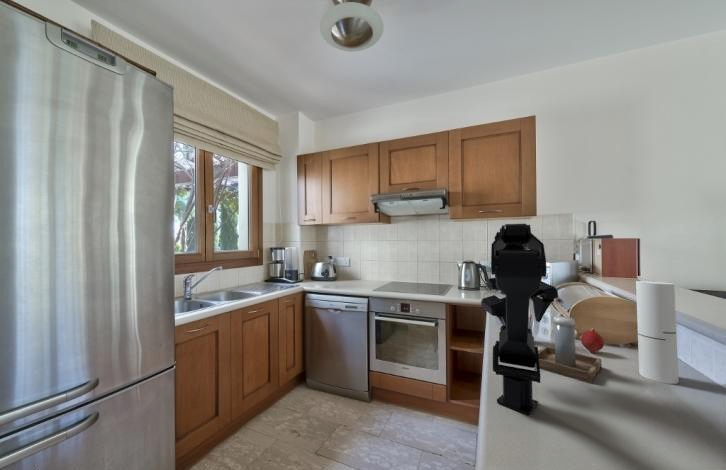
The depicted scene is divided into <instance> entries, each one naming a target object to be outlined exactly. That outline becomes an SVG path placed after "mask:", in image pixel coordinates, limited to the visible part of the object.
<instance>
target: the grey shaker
mask: <svg viewBox="0 0 726 470" xmlns="http://www.w3.org/2000/svg"><path fill="white" fill-rule="evenodd" d="M553 327H554V328H553V330H554V331H553V333H554V336H553V337H554V348H555V363H558V364H561V365H565V366H569V367H573V368H574V367H576V353H577V352H576V331H575V327H576V319H575V318H573V317H568V316H562V315H559V316H557V315H556V316H553Z"/></svg>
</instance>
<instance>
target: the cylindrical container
mask: <svg viewBox="0 0 726 470" xmlns="http://www.w3.org/2000/svg"><path fill="white" fill-rule="evenodd" d="M635 289H636V290H635V293H636V319H637V344H638V345H637V347H638V350H637V351H638V370H639V372H638V374H639V375H641V377H644V378H645V379H647V380H652V381H654V382H657V383H658V382H659V383H662V384H668V385H671V384H672V385H677V384H679V366H678V365H679V364H678V360H679V359H678V341H677V340H678V338H677V337H678V336H677V320H676V319H677V317H676V316H677V315H676V295H675V294H676V291H675V283H672V282H667V281H666V282H664V281H654V280H653V281H651V280H636V281H635Z"/></svg>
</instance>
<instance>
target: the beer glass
mask: <svg viewBox="0 0 726 470" xmlns="http://www.w3.org/2000/svg"><path fill="white" fill-rule="evenodd" d="M534 321H535V314H534V306H533V301H532V299H529V319H528V329H531V331H532V332H533V326H534Z"/></svg>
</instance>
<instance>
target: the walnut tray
mask: <svg viewBox="0 0 726 470" xmlns="http://www.w3.org/2000/svg"><path fill="white" fill-rule="evenodd" d="M575 353H576V367H574V368H573V367H569V366H565V365H561V364H558V363H555V347H551V346H547V345H544V346H543V347H541V348H540V349H538V354H539V365H540V370H543V371H546V372H550V373H554V374H557V375H560V376H564V377H568V378H571V379H575V380H577V381H582V382H584V383H588V384H590V385H591V384H593V382H594V381H595V379H596V378H597V376H598V375H599V373H600V371H602V359H601V358H598V357H593V356H589V355H585V354H581V353H577V352H575Z"/></svg>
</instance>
